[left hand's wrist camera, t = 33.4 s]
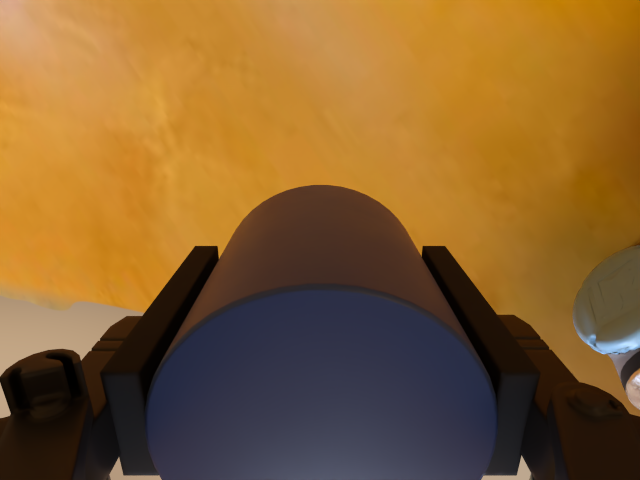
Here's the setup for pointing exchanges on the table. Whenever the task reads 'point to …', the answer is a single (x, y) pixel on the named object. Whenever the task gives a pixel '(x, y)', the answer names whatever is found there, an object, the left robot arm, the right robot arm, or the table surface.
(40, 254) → the table surface
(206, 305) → the cylinder
